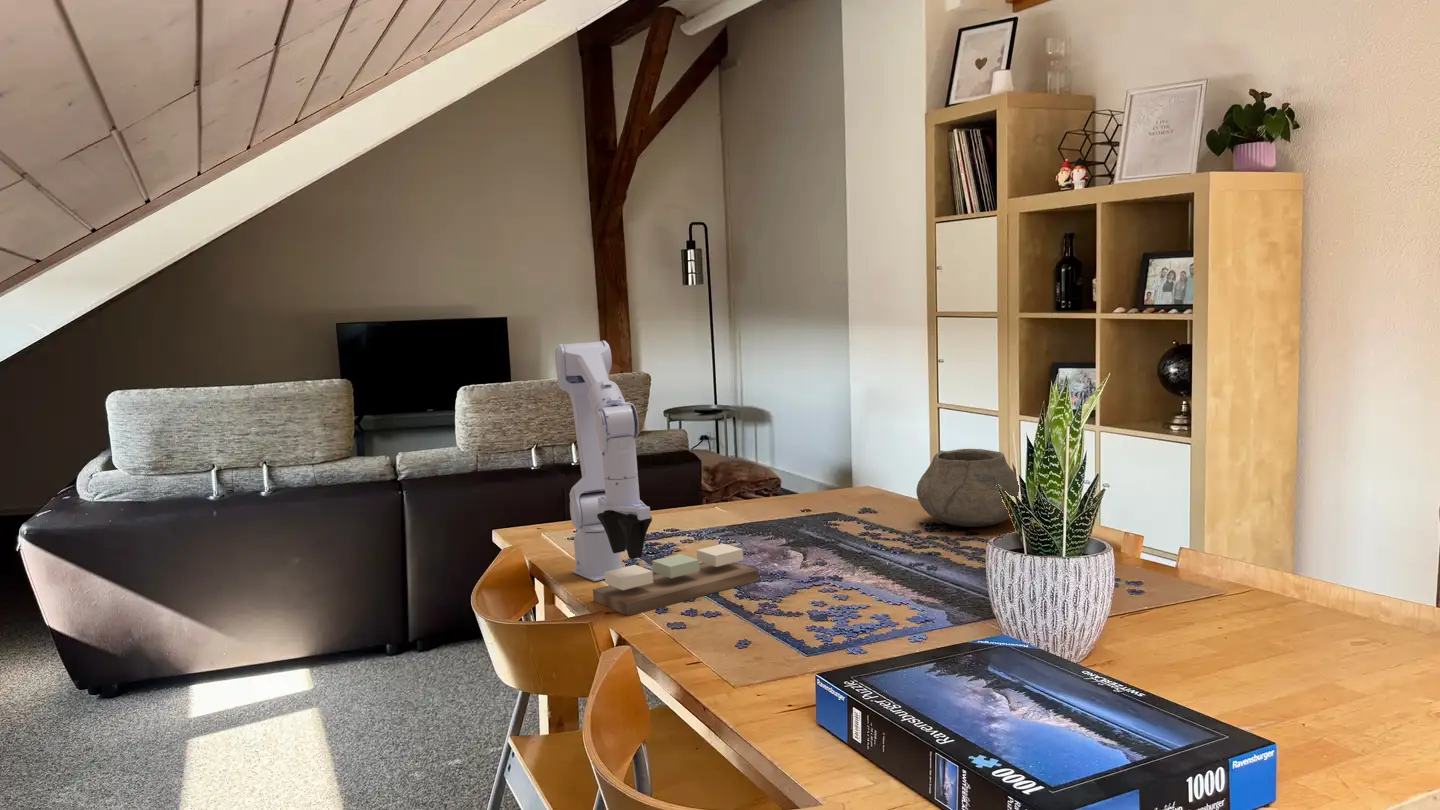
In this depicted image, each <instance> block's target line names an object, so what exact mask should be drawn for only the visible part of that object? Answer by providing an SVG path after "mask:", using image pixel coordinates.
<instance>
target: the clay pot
mask: <svg viewBox="0 0 1440 810" xmlns="http://www.w3.org/2000/svg"><path fill="white" fill-rule="evenodd" d="M1014 473H1015V472H1014V470H1013V469H1012V468H1011V467H1010V465H1009V463H1008V462H1007V459H1006V457H1005V453H1003V452H1000V451H995V450H990V449H983V448H959V449H953V450H945V451H939V452H937V453H936V454H935V455H934V456H933V458H932V460H931V462H930V465H929V466H928V467H927V469H926V470H925V471H924V473H923V474H922V476H921V477H920V479H919V481H918V483H917V486H916V492H915V493H916V496H917V500H918V502H919V504H920V506H921V507H922V509H923V511H925V512H926V513H927V514H928V515H929V516H931V517H932V518H934V519H935V520H939V521H941V522H943V523H946V524H948V525H952V526H957V527H964V528H966V527H967V528H977V527H978V528H979V527H989V526H992V525H993V526H994V525H996V524H1000V523H1002V522H1005V521H1006V520H1008V519H1010V518H1011V517H1010V516H1009V513H1008V510H1007V509H1006V507H1005V505H1004V503H1003V502H1002V498H1001V495H1000V493H999V490H998V488H997V486H996V484H999V485H1000V486H1001V487H1002V489H1003V490H1004V491H1006V492H1007V493H1008V494H1009V495H1011V496H1014V497H1017V496H1018V492H1019V485H1018V481H1017V479H1016V477H1015V475H1014Z"/></svg>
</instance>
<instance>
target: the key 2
mask: <svg viewBox="0 0 1440 810" xmlns="http://www.w3.org/2000/svg"><path fill="white" fill-rule="evenodd" d="M696 557H697V558H696V559H698V560H699V563H702V562H703V563H706V564H709V565H712V566H715V567H717V566H721V565H725V564H729V563H733V562H734V563H738V562H740V561H744V550H743V548H739V547H737V546H733V545H729V544H726V543H721V544H717V545H712V546H708V547H703V548H700V549H696Z"/></svg>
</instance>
